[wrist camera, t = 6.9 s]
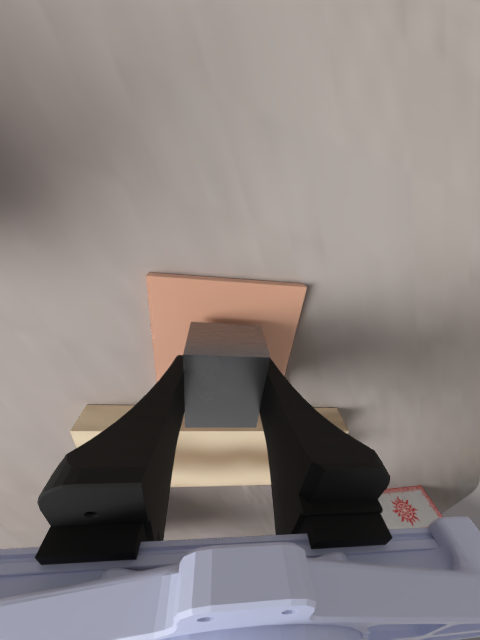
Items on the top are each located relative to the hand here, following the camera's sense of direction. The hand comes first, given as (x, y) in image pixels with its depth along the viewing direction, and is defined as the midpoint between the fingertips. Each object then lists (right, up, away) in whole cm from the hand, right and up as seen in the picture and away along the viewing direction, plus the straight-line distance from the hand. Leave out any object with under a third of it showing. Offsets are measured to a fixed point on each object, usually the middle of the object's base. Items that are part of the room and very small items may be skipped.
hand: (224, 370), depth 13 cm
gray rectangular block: (0, 0, +1) cm, 1 cm away
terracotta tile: (0, +1, +2) cm, 3 cm away
